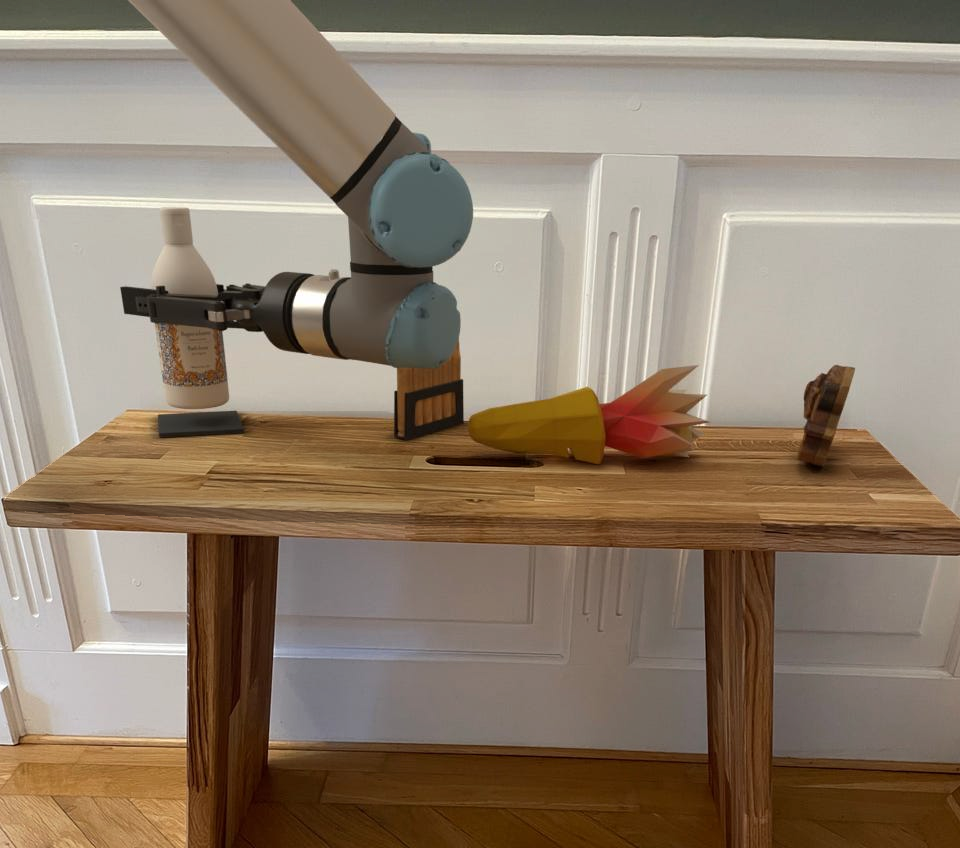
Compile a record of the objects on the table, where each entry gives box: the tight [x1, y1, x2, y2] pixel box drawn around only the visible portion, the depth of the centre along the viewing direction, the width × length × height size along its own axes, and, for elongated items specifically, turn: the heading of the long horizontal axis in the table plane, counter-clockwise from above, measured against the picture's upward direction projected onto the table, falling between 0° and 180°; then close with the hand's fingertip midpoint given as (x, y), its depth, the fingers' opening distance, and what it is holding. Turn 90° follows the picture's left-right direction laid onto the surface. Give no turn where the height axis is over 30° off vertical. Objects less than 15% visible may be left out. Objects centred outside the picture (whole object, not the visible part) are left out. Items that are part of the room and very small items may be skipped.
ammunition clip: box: [393, 338, 465, 441], centre depth 101 cm, size 11×2×12 cm, turn 144°
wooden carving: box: [797, 364, 856, 468], centre depth 93 cm, size 16×5×10 cm, turn 162°
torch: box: [467, 364, 710, 465], centre depth 93 cm, size 8×8×25 cm
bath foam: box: [150, 206, 230, 410], centre depth 98 cm, size 7×7×20 cm
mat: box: [157, 410, 245, 439], centre depth 104 cm, size 9×9×1 cm
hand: (154, 296), depth 100 cm, fingers closed on bath foam, 7 cm apart
